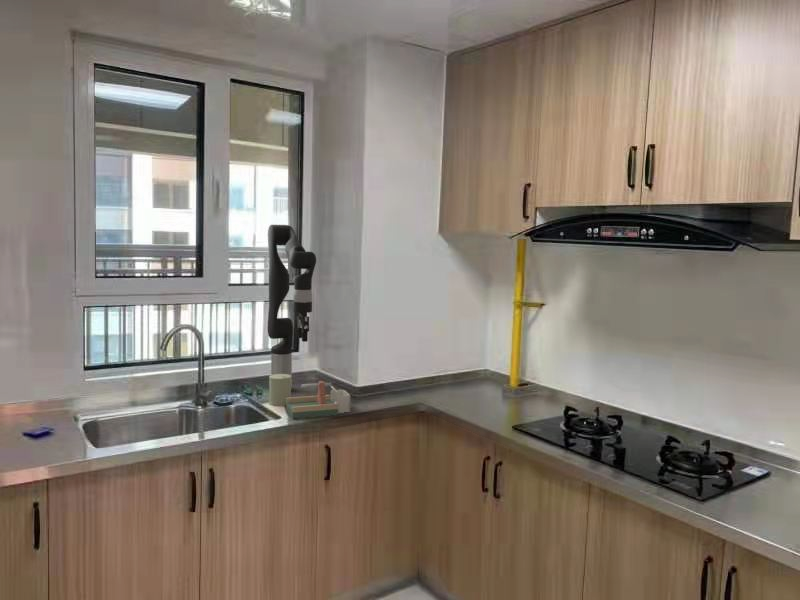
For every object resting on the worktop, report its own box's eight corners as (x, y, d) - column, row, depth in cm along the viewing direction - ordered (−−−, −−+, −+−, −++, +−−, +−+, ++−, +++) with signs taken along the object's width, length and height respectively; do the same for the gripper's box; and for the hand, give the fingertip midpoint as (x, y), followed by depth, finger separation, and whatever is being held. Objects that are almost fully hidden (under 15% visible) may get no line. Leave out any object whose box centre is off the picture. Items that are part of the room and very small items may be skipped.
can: (279, 407, 253) (279, 378, 252) (264, 403, 258) (264, 375, 257) (295, 402, 260) (295, 374, 259) (281, 398, 266) (281, 371, 264)
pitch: (286, 408, 251) (286, 397, 250) (329, 405, 257) (329, 394, 256) (292, 418, 237) (292, 407, 236) (338, 415, 243) (338, 404, 242)
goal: (330, 406, 254) (330, 386, 254) (343, 405, 256) (343, 385, 256) (336, 413, 245) (336, 391, 244) (350, 412, 247) (350, 390, 246)
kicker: (300, 403, 248) (300, 381, 247) (329, 401, 252) (329, 379, 251) (303, 407, 242) (303, 385, 241) (333, 405, 246) (333, 383, 245)
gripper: (290, 298, 255) (290, 337, 257) (296, 302, 242) (296, 343, 244) (308, 298, 258) (308, 336, 260) (315, 302, 245) (315, 342, 246)
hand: (302, 339), depth 252 cm, fingers open, 8 cm apart
